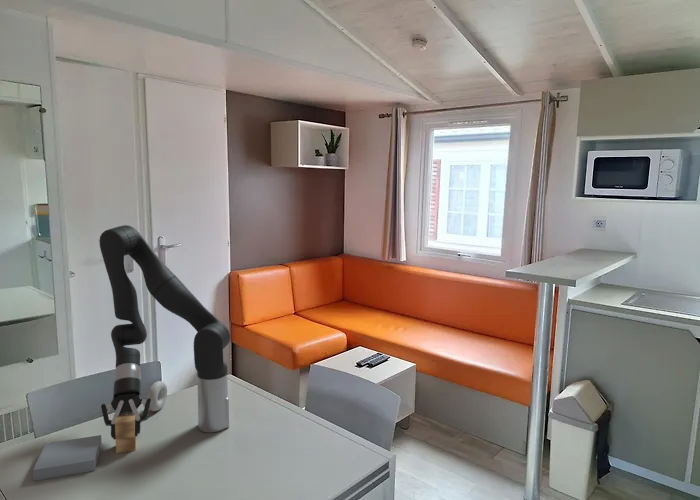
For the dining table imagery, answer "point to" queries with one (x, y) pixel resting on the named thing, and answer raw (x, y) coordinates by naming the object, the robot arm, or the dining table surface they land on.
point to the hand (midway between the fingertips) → (125, 436)
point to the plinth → (68, 457)
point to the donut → (157, 395)
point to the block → (125, 433)
